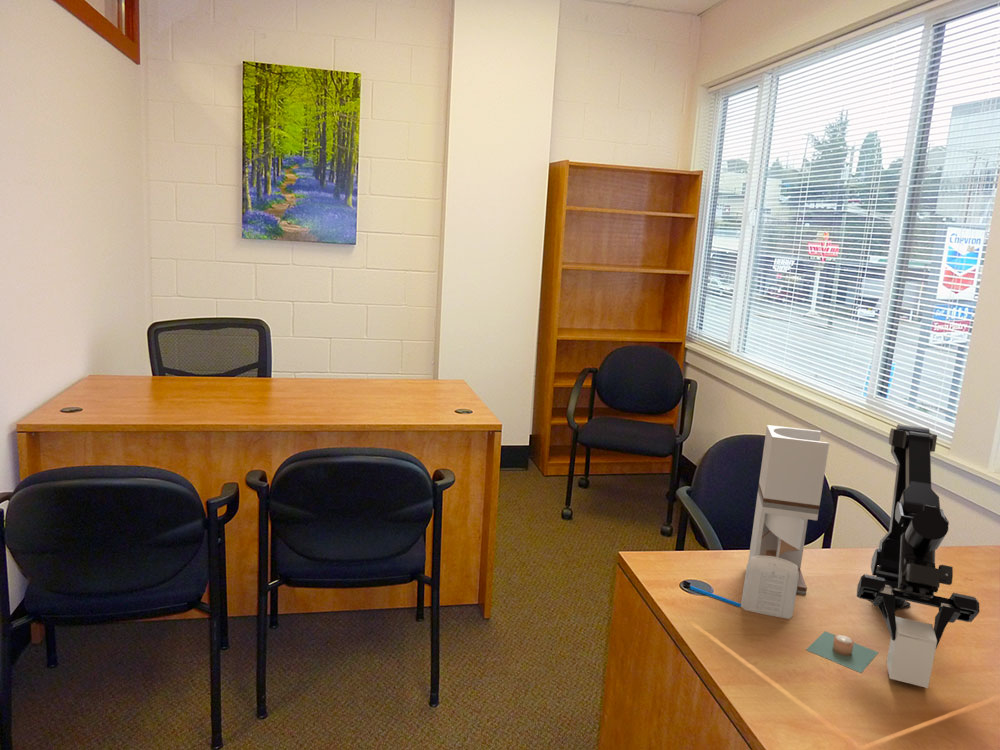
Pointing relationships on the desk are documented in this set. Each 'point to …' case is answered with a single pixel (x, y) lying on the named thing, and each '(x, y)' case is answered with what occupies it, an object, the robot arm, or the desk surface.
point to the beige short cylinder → (843, 645)
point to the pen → (713, 595)
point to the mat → (855, 661)
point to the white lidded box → (912, 652)
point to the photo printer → (770, 586)
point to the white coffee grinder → (788, 493)
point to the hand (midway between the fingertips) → (913, 644)
